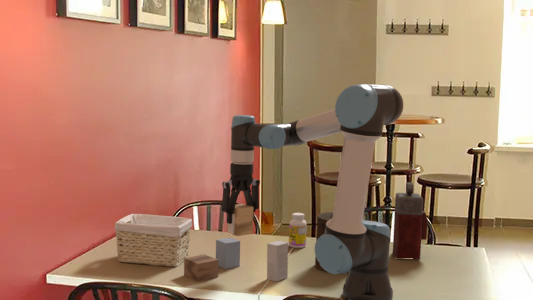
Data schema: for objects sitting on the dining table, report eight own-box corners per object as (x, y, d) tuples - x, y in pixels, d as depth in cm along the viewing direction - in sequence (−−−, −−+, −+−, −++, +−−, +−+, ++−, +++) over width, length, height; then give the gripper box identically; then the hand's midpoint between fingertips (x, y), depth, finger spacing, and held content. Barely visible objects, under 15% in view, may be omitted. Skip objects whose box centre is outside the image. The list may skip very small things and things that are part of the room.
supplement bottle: (285, 244, 265) (286, 212, 263) (300, 243, 267) (301, 211, 266) (293, 249, 258) (294, 216, 257) (308, 247, 261) (310, 215, 260)
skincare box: (277, 275, 224) (278, 240, 223) (287, 278, 222) (288, 242, 220) (266, 279, 220) (266, 243, 218) (276, 282, 217) (277, 245, 216)
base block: (218, 277, 221) (218, 259, 220) (197, 282, 215) (198, 263, 215) (204, 271, 227) (204, 254, 226) (183, 275, 221) (184, 258, 221)
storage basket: (193, 257, 244) (193, 217, 242) (179, 269, 228) (179, 226, 227) (130, 252, 248) (131, 212, 247) (112, 263, 233) (112, 221, 231)
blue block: (239, 266, 234) (240, 241, 232) (225, 269, 230) (225, 243, 229) (229, 262, 238) (230, 237, 237) (215, 265, 234) (216, 239, 233)
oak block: (252, 233, 222) (253, 207, 221) (237, 236, 219) (238, 208, 218) (242, 230, 227) (242, 203, 226) (227, 232, 224) (227, 205, 222)
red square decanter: (426, 260, 248) (430, 185, 245) (395, 259, 248) (399, 184, 245) (422, 253, 257) (426, 181, 253) (392, 252, 257) (396, 180, 254)
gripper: (258, 159, 229) (256, 226, 232) (211, 162, 217) (209, 232, 220) (272, 162, 223) (269, 230, 226) (223, 165, 211) (221, 237, 214)
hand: (239, 231), depth 223 cm, fingers closed on oak block, 6 cm apart
